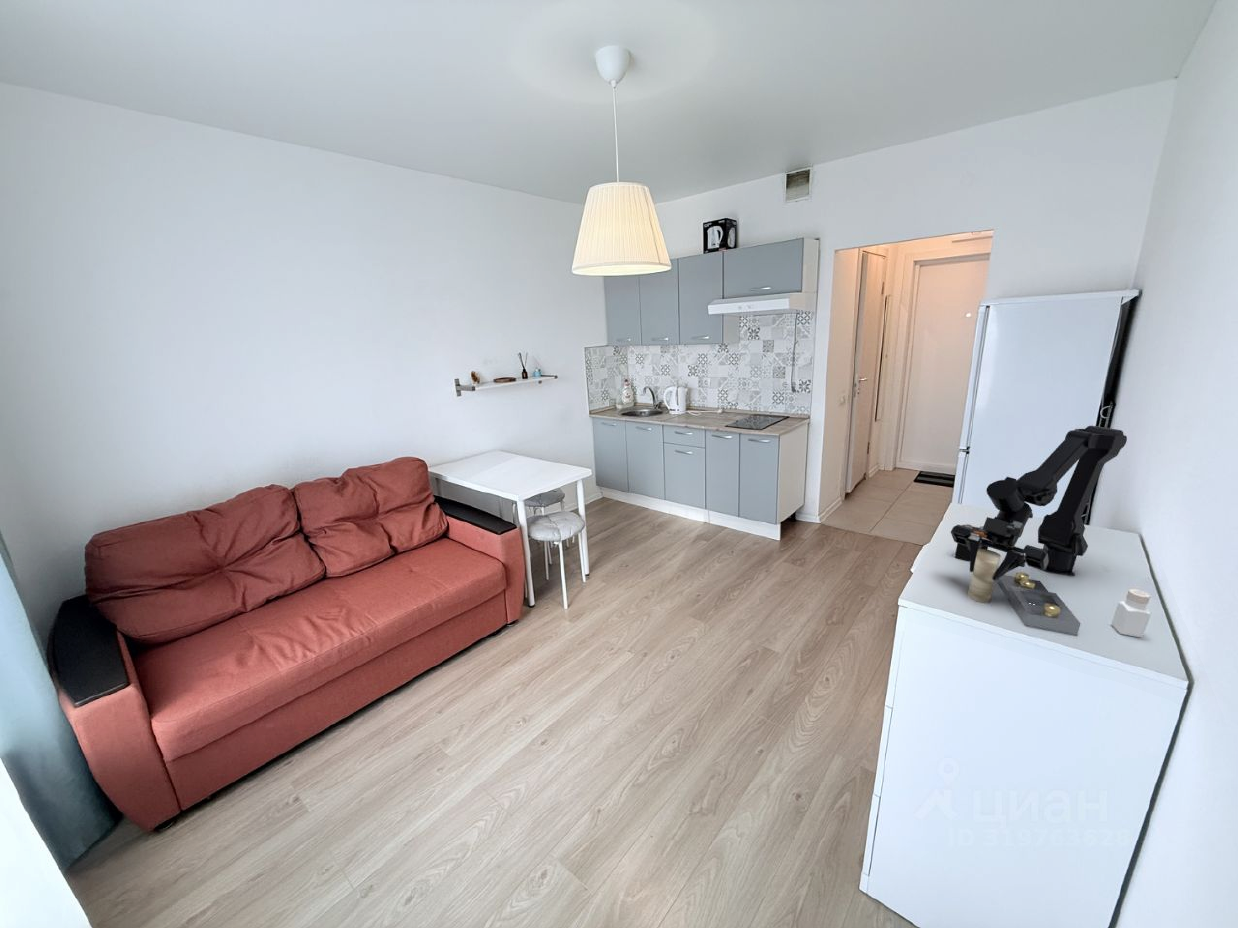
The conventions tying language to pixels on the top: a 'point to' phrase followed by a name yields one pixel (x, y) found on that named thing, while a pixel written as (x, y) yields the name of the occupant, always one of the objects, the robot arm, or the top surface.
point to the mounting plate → (1038, 604)
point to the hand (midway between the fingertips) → (982, 575)
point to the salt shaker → (1132, 614)
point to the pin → (983, 575)
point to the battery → (963, 550)
